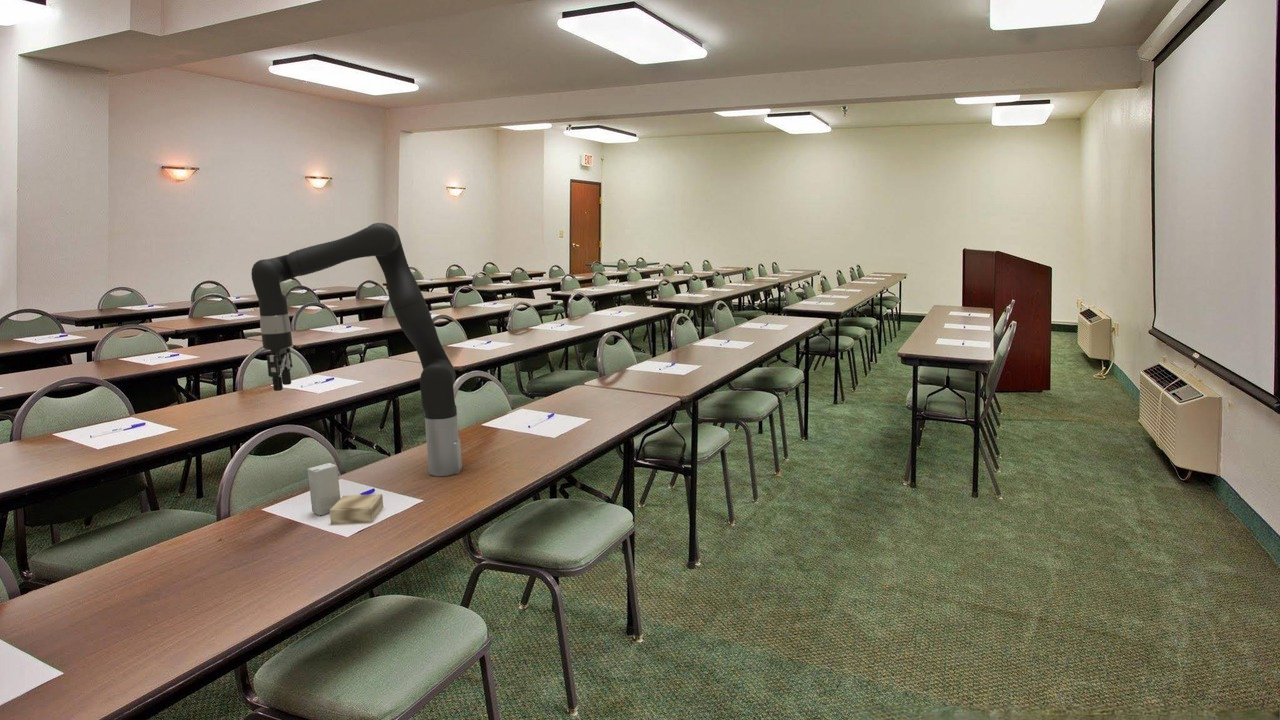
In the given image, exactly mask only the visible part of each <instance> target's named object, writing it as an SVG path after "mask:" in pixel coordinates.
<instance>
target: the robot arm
mask: <svg viewBox="0 0 1280 720" xmlns="http://www.w3.org/2000/svg"><path fill="white" fill-rule="evenodd" d="M405 254H406V253H405V251H404V248H403V244H402V240H401V237H400V234H399V232H398V231H397V230H396V228H395V227H394V226H392V225H390V224H388V223H384V222H376V223H372V224H370V225H368V226H367V227H365V228H362V229H360V230H358V231H357V232H354V233H352V234H350V235H347V236H345V237H342V238H338V239H334V240H332V241H327V242H324V243H319V244H314V245H310V246H308V247H303V248H300V249H296V250H294V251H291V252H289V253H288V254H284V255H281V256H276V257H271V258H267V259H266V258H265V259H260V260H257V261H256V262H254V264H253V265H252V268H251V273H250V274H251V281H252V285H253V289H254V291H255V292H254V293H255V294H256V295H255V296H256V297H257V299H258V306H259V307H258V308H259V309H258V310H259V317H260V320H259V325H260V334H261V335H260V336H261V342H262V348H263V349H265V350H270V354H267V355H266V362H267V372H268V375H267V376H268V377H270V378H271V379H272V386H273V391H275V392H277V391H278V392H279V391H280V392H281V391H283V389H284V388H283V387H284V386H288V385H291V384H292V377H291V376H292V375H291V371H292V368H293V360H292V355H291V354H292V352H291V347H293V346H294V345H293V337H292V336H293V335H292V328H291V321H290V317H289V312H288V311H289V310H288V305H287V304H288V302H287V298H286V296H285V295H284V294H283V293H282V289H281V283H282V282H285V281H289V280H291V279H294V278H297V277H302V276H306V275H309V274H313V273H316V272H317V273H318V272H320V271H323V270H326V269H330V268H331V267H334V266H336V265H339V264H342V263H345V262H348V261H352V260H355V259H362V258H366V257H367V258H369V257H375V258H376V260H377V262H378V264H379V266H380V268H381V270H382V272H383V276H384V279H385V283H386V287H387V289H386V290H387V295H388V298H389V303H390V304H391V305H390V306H391V309H392V310H393V314H394V316H395V318H396V320H397V322H398V325H399V327H400V328H401V330H402V331H403V333H404V334H405V336H406V338H407V339H408V340H409V342H410V343H411V344H412V345H413V347H414V349H415V351H416V353H417V355H418V357H419V361H420V363H421V367H422V372H421V373H420V378H419V379H420V380H419V385H420V395H421V396H420V397H421V406H422V410H423V413H424V415H423V416H424V423H425V425H424V426H425V438H426V452H427V454H426V455H427V469H428V474H429V475H431V476H434V477H447V476H452V475H459V474H460V472H461V470H462V468H463V465H462V463H463V462H462V450H461V449H462V448H461V447H462V446H461V438H460V437H459V427H458V411H457V409H458V408H457V405H456V401H455V392H454V391H455V390H454V389H455V388H454V384H455V382H456V376H457V375H456V370H455V368H454V365H453V364H452V362H451V361H450V359H449V356H448V355H447V352H446V351H445V349H444V347H443V346H442V342H441V341H440V339H439V336H438V333H437V329H436V327H435V324H434V321H433V318H432V315H431V313H430V309H429V307H428V304H427V302H426V300H425V297H424V295H423V293H422V291H421V289H420V286H419V284H418V282H417V280H416V279H415V277H414V275H413V273H412V270H411V269H410V267H409V264H408V261H407V258H406V255H405Z"/></svg>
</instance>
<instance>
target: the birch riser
mask: <svg viewBox="0 0 1280 720" xmlns="http://www.w3.org/2000/svg"><path fill="white" fill-rule="evenodd" d="M382 508H384V498H383V493H380V494H379V493H378V494H377V493H375V494H373V493H371V494H353V495H352V494H351V495H341V496H340V499H339V501H338V502H337V503H336V504H335V505H334V506H333V507H332V508H331V509H330V513H329V518H330V525H341V524H342V525H344V524H346V523H348V524H363V523H364V524H367V523H368V524H369V523H373V522H374V521H375V520H376V518H377V517H378V516H379V514H380V513H379V512H381V511H382V510H383V509H382Z"/></svg>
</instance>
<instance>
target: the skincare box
mask: <svg viewBox="0 0 1280 720" xmlns="http://www.w3.org/2000/svg"><path fill="white" fill-rule="evenodd" d="M307 477H308V484H309V485H308V486H309V493H310V495H309V496H310V502H311V503H310V504H311V510H312V513H313V512H314V513H313V514H315V513H316V514H315V515H317V514H318V515H317V516H320V515H321V516H324V515H326V514H330V509H331V508H332V507H333V506H334V505H335V504H336V503H337V502H338V501H339V499H340V498H341V491H340V484H339V483H340V482H339V473H338V466H337V465H336V464H333V463H330V462H328V463H324V464H320V465H317V466H312V467H308V468H307ZM321 516H320V517H321Z"/></svg>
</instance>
